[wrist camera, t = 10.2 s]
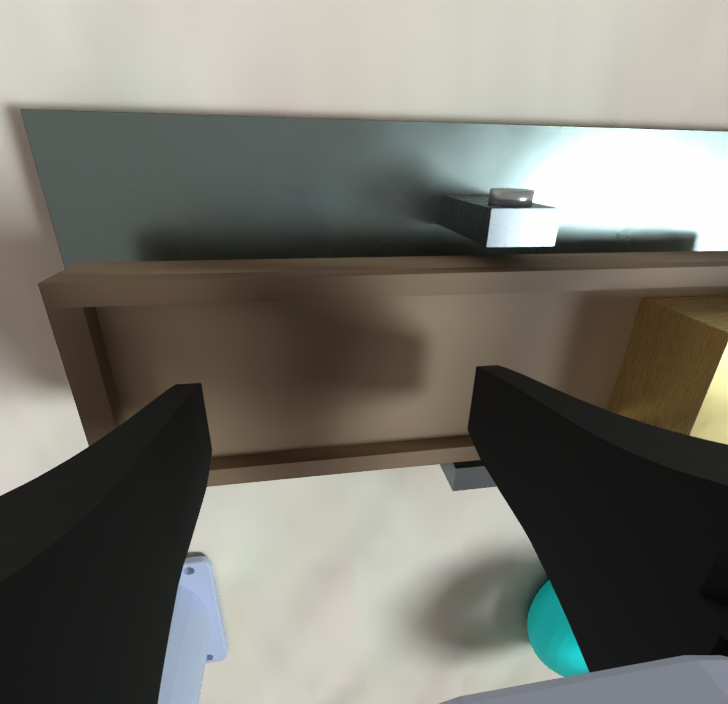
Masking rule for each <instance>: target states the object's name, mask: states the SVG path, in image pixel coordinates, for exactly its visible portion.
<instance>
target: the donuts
mask: <svg viewBox="0 0 728 704" xmlns="http://www.w3.org/2000/svg"><path fill="white" fill-rule="evenodd" d="M527 632H528V637H529V641H530V644H531V646H532V648H533V650H534V652H535V653H536V655H537V656H538V657H539V659H540V660H541V661H542V662H543V663H544V664H545V665H546V666H547V667H548V668H550V669H551V670H553V671H554V672H556V673H557V674H559V675H561V676H564V677H569V676H574V675H580V674H585V673H589V670H588V668H587V665H586V663H585V661H584V658H583V656H582V653H581V651H580V649H579V646H578V644H577V641H576V639H575V637H574V634H573V632H572V629H571V627H570V625H569V622H568V620H567V618H566V615H565V613H564V611H563V609H562V607H561V604H560V602H559V600H558V598H557V596H556V593H555V591H554V589H553V587H552V584H551V582H550V580H548V581H547V582H546V583H545V584H544V585H543V586H542V588H541V589H540V590H539V592H538V593H537V595H536V596H535V598H534V600H533V602H532V604H531V607H530V610H529V613H528V618H527Z"/></svg>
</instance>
